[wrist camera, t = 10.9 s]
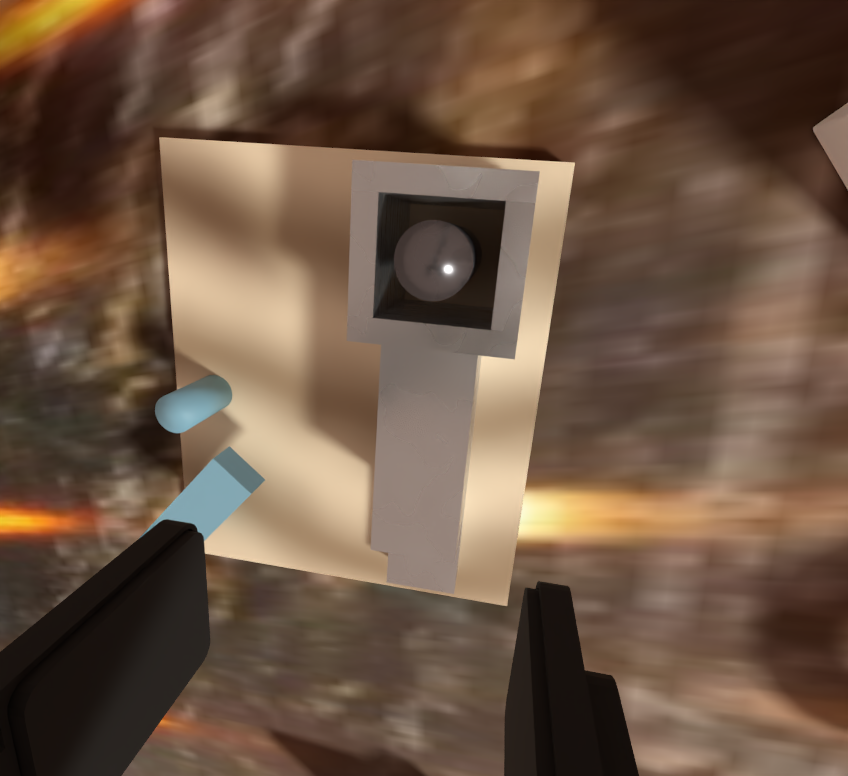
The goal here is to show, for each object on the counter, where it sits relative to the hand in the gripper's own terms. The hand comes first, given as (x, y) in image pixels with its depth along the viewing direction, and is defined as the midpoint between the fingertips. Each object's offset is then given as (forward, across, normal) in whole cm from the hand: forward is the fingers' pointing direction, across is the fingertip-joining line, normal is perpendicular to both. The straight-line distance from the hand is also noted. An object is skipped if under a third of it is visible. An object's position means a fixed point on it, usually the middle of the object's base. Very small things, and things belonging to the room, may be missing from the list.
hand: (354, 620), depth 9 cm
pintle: (+12, 0, -6) cm, 14 cm away
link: (+12, 0, -1) cm, 12 cm away
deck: (+14, +4, 0) cm, 14 cm away
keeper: (+14, +10, +3) cm, 17 cm away
